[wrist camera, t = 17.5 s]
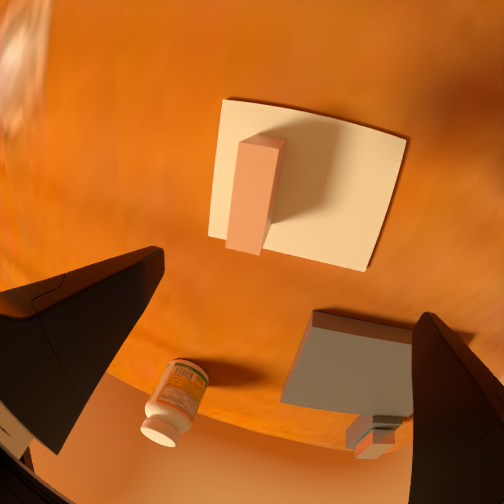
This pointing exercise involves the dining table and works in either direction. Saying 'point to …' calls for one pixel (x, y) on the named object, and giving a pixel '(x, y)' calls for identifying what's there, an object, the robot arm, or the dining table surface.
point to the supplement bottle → (174, 402)
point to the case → (353, 372)
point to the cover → (301, 184)
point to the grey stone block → (374, 444)
